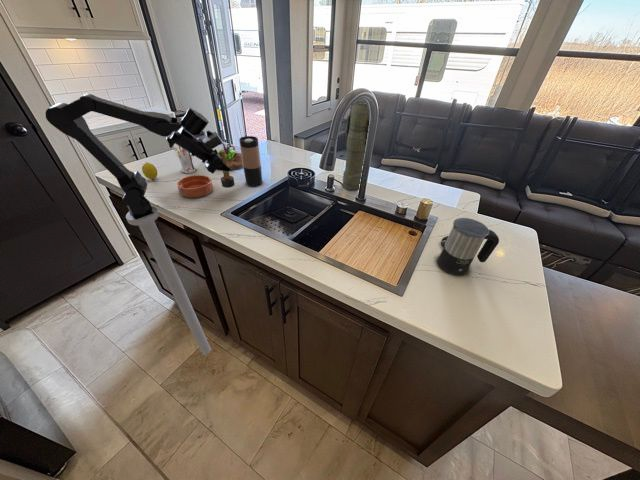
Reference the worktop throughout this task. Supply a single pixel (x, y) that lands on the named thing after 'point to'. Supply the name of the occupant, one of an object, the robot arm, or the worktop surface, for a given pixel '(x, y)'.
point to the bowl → (195, 186)
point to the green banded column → (355, 145)
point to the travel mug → (251, 160)
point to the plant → (232, 157)
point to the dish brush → (226, 173)
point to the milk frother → (466, 245)
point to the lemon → (149, 170)
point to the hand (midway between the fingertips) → (228, 169)
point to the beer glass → (184, 159)
